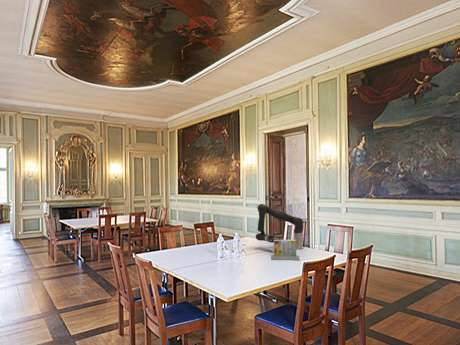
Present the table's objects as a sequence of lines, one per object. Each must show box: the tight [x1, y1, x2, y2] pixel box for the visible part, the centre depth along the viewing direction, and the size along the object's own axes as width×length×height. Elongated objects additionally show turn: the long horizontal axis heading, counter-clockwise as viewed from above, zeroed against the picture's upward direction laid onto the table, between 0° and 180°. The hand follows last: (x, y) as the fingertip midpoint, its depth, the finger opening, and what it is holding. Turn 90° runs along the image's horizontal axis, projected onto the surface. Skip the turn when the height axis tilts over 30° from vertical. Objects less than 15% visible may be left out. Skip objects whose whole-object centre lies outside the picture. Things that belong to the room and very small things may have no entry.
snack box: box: [273, 239, 297, 256], centre depth 313 cm, size 21×6×15 cm, turn 84°
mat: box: [270, 255, 301, 261], centre depth 301 cm, size 16×26×1 cm, turn 81°
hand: (280, 240), depth 321 cm, fingers closed
